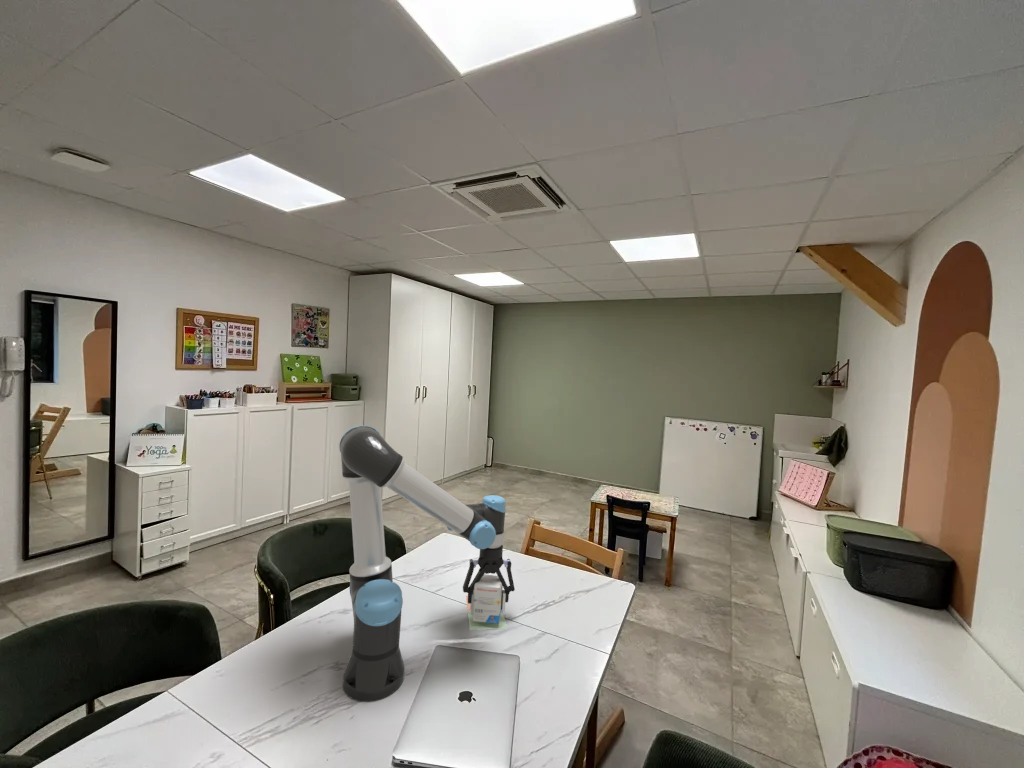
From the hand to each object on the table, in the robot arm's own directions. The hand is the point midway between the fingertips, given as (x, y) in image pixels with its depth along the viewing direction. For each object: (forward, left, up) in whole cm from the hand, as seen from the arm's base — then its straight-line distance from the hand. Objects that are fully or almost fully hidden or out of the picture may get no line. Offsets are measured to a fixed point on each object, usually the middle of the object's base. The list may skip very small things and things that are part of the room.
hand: (487, 612), depth 133 cm
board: (+6, 0, -4) cm, 7 cm away
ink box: (0, 0, -1) cm, 1 cm away
